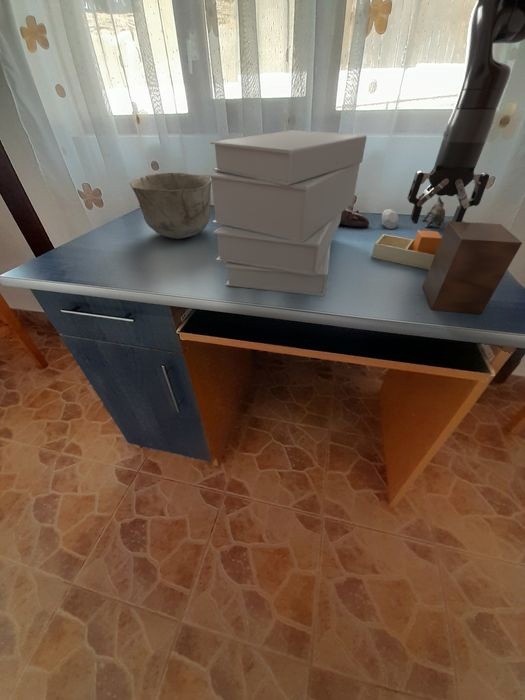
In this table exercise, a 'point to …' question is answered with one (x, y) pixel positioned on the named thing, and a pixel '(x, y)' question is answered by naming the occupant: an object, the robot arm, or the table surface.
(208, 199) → the bowl
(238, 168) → the book stack
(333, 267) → the table surface
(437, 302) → the stand
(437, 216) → the grey mottled figurine
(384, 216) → the gemstone
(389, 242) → the divided box
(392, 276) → the table surface
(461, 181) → the robot arm
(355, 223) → the brown shoe
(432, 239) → the orange rectangular block
